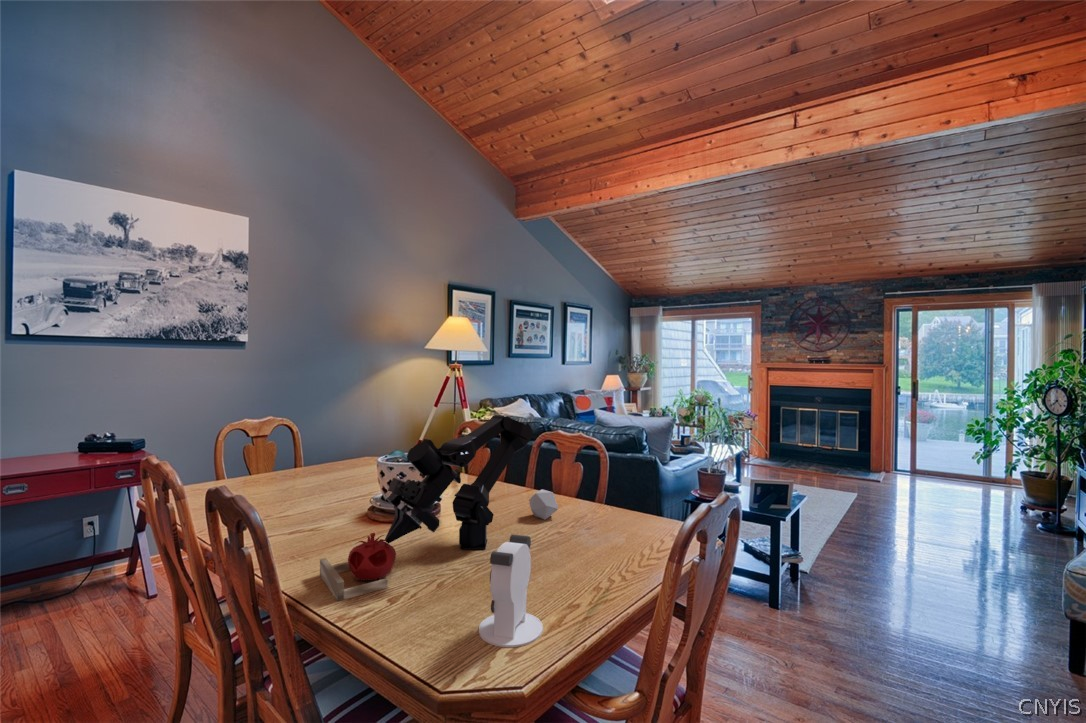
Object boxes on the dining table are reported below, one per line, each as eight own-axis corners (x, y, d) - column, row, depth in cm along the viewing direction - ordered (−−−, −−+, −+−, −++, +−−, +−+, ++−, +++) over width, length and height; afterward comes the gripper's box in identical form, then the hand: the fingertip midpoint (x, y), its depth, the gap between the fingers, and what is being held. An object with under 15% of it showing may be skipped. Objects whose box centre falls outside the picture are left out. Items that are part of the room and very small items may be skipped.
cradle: (365, 564, 115) (365, 549, 115) (387, 587, 103) (387, 570, 103) (319, 575, 109) (319, 559, 109) (337, 601, 97) (337, 582, 97)
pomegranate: (360, 565, 114) (357, 526, 114) (403, 563, 114) (399, 523, 114) (341, 586, 104) (338, 543, 104) (388, 584, 104) (384, 540, 104)
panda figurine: (494, 607, 95) (495, 530, 95) (551, 616, 92) (551, 536, 92) (468, 640, 83) (468, 552, 84) (531, 652, 80) (531, 560, 80)
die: (564, 520, 152) (560, 489, 158) (550, 512, 145) (547, 480, 151) (539, 527, 154) (536, 496, 161) (525, 519, 148) (523, 488, 154)
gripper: (395, 459, 122) (348, 511, 115) (427, 471, 107) (375, 532, 100) (425, 486, 126) (381, 538, 119) (459, 502, 111) (411, 562, 104)
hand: (386, 541), depth 111 cm, fingers closed, pressing on pomegranate
